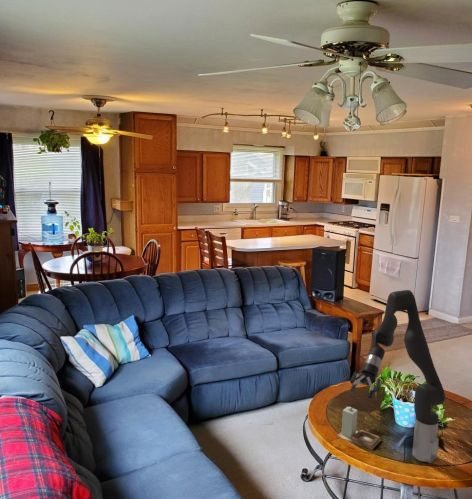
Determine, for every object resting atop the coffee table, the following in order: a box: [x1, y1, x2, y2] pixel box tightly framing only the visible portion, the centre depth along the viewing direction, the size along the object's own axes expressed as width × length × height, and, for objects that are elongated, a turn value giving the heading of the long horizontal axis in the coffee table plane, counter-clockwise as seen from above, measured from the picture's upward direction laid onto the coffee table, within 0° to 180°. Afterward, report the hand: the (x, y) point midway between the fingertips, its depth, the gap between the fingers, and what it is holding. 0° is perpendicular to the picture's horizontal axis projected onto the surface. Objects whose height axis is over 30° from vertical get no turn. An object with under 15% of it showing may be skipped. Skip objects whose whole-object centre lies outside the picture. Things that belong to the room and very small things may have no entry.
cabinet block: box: [340, 406, 358, 438], centre depth 211 cm, size 5×5×13 cm
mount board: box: [337, 429, 381, 451], centre depth 209 cm, size 17×10×3 cm, turn 50°
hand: (360, 395), depth 218 cm, fingers open, 8 cm apart
